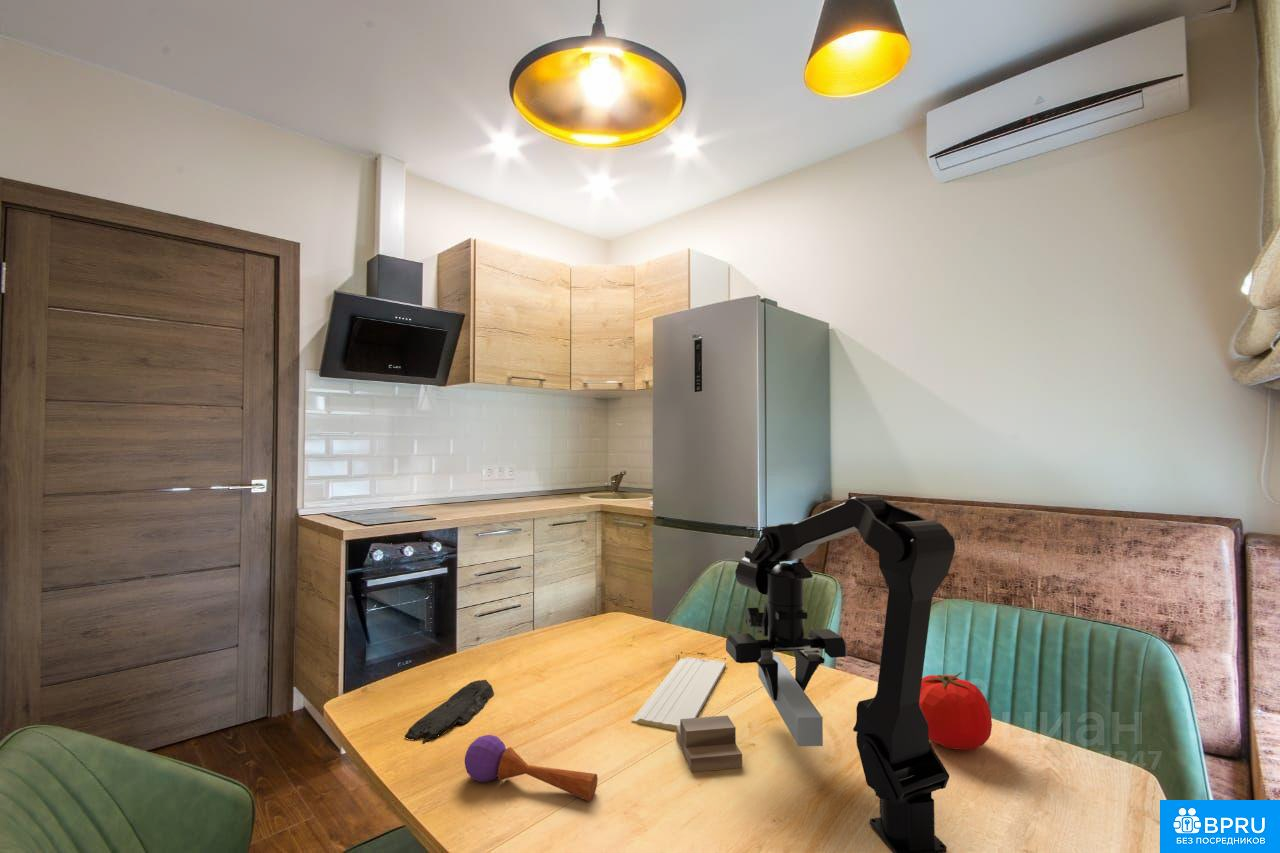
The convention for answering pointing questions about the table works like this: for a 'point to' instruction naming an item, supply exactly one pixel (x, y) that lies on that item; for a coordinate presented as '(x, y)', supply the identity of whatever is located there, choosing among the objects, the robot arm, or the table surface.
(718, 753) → the ridge block
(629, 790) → the table surface
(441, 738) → the table surface
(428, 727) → the wood
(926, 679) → the tomato
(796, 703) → the slate stick
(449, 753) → the table surface
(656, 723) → the baseboard molding
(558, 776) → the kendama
